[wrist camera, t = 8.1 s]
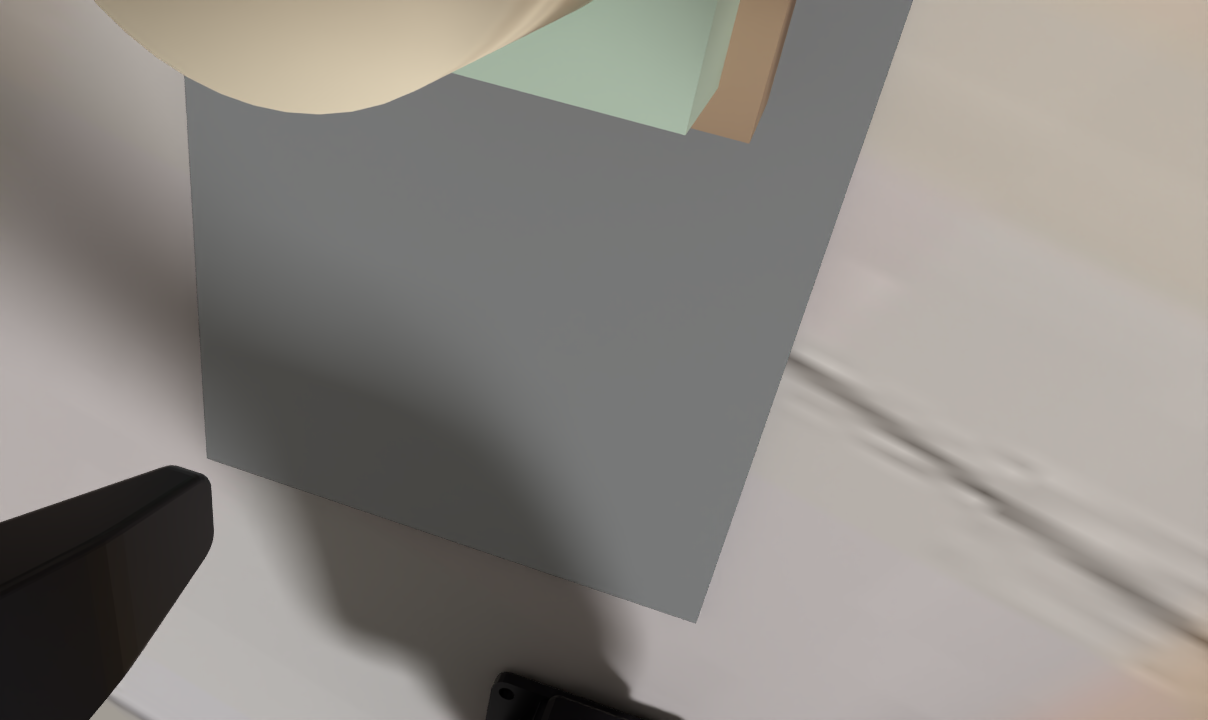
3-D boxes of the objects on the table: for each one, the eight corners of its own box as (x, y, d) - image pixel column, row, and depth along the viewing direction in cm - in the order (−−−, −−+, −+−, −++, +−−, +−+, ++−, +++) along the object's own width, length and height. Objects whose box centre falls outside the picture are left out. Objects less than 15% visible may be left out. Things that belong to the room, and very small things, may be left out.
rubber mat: (698, 613, 25) (695, 623, 25) (215, 450, 27) (206, 458, 26) (1111, -576, 12) (1118, -589, 12) (154, -723, 14) (136, -737, 14)
